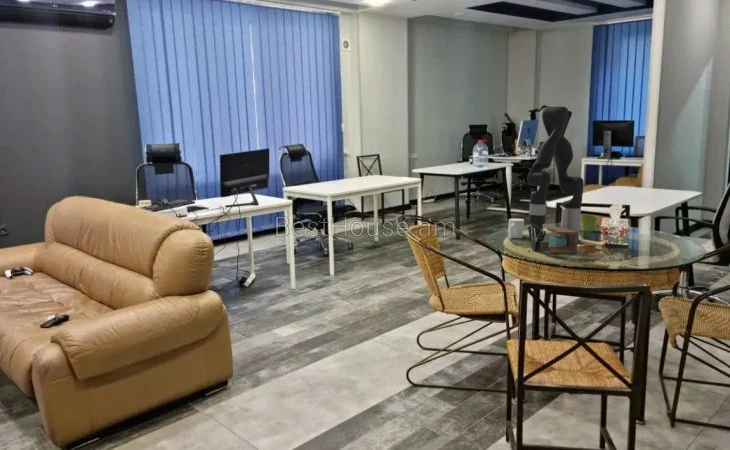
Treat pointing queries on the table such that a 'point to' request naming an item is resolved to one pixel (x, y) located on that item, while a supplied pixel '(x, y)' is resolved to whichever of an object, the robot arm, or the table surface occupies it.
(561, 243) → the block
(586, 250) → the table surface
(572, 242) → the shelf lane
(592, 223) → the plant pot
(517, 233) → the mug
